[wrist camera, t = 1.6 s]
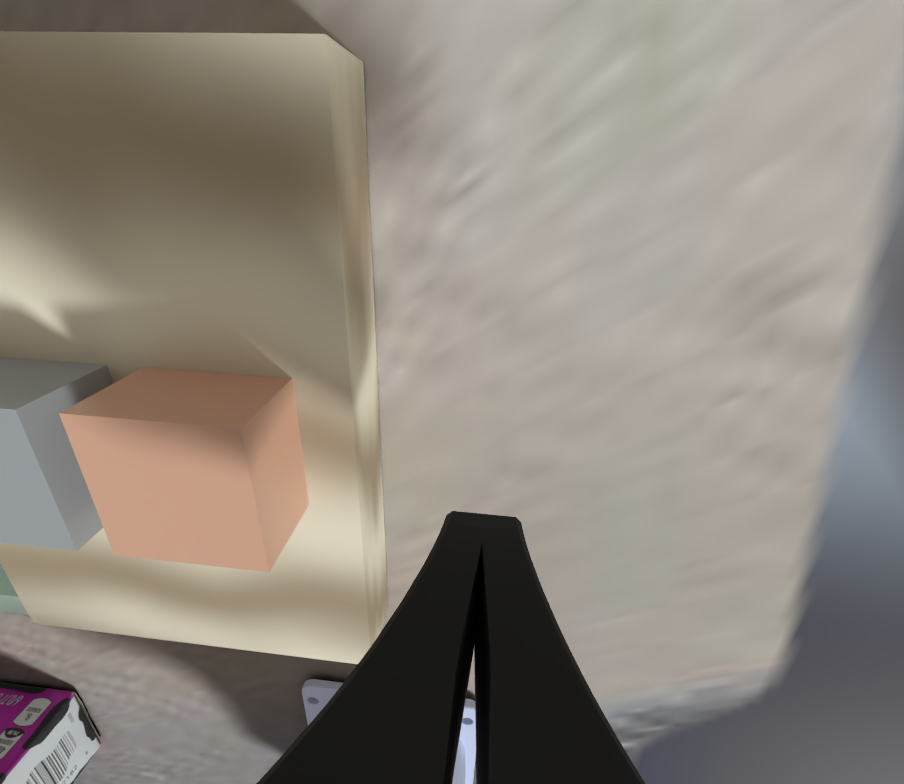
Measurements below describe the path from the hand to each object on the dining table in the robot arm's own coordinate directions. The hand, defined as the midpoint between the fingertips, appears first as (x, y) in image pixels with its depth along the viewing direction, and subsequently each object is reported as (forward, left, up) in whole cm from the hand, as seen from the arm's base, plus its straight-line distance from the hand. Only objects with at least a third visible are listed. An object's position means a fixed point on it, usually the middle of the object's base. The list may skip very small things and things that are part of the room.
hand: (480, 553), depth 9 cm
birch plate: (0, +10, -6) cm, 12 cm away
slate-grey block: (0, +12, -3) cm, 12 cm away
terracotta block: (0, +7, -3) cm, 8 cm away
